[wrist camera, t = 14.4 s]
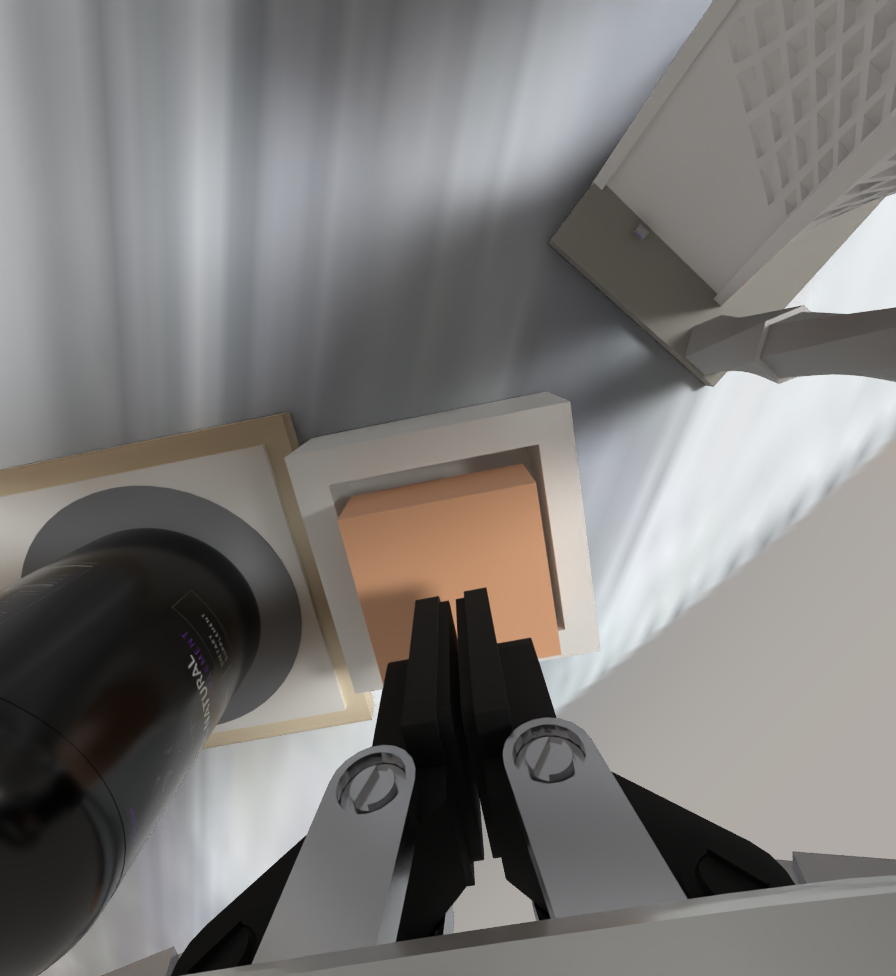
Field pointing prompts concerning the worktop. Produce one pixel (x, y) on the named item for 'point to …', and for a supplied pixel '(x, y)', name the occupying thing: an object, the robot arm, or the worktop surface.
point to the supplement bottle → (105, 719)
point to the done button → (451, 556)
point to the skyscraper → (750, 190)
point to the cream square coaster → (221, 524)
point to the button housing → (436, 455)
